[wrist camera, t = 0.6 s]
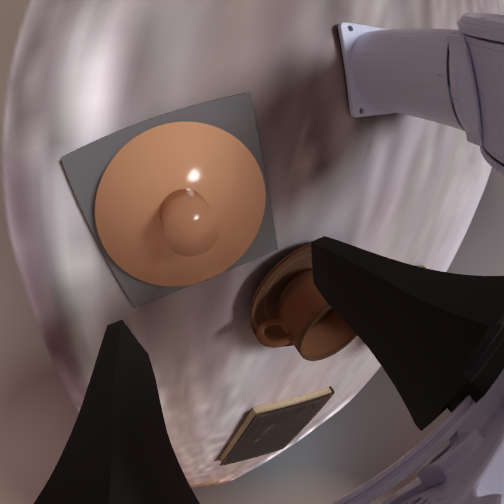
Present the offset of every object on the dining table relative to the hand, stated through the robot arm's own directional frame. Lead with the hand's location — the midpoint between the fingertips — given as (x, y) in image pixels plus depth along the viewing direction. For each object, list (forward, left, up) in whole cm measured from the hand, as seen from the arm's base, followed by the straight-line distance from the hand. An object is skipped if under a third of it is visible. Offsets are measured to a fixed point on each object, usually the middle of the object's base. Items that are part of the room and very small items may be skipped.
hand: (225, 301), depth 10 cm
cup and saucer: (-8, +12, -10) cm, 18 cm away
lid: (0, 0, -10) cm, 10 cm away
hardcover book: (0, +45, -11) cm, 46 cm away
